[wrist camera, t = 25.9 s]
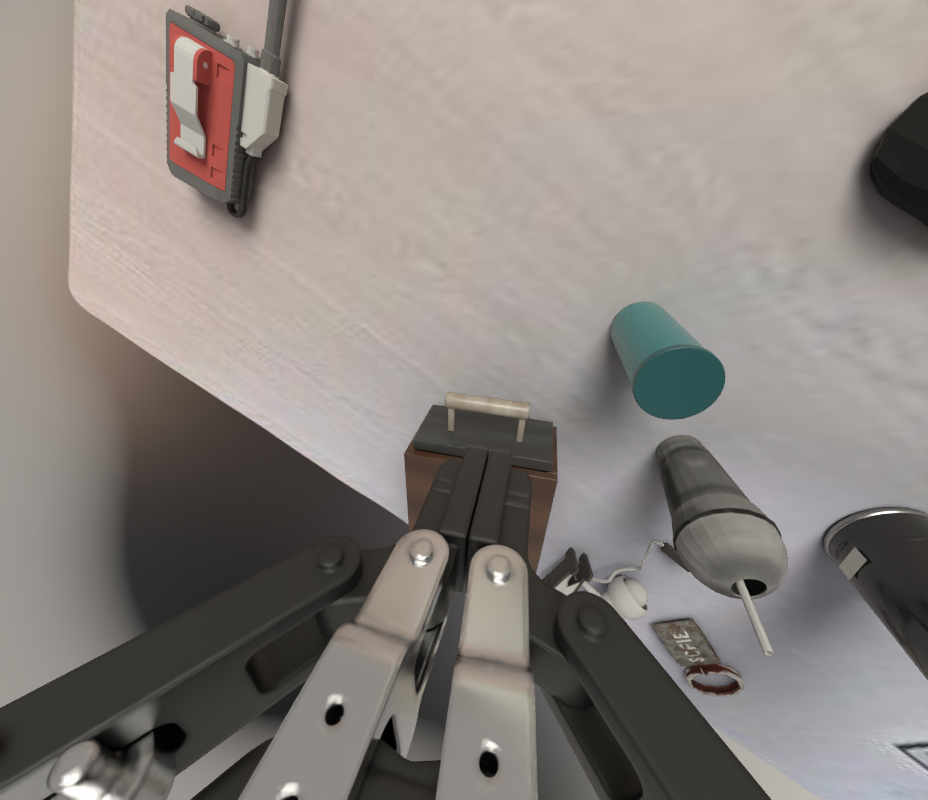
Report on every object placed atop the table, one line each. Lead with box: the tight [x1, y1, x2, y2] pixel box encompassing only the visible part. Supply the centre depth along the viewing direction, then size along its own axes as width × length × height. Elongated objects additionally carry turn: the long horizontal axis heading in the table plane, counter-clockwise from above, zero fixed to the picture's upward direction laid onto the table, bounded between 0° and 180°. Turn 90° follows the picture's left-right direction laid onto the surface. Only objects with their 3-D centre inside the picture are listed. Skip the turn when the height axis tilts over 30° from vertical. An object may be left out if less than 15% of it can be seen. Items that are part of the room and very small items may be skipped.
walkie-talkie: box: [166, 0, 288, 218], centre depth 27 cm, size 9×4×20 cm
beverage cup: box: [656, 435, 788, 656], centre depth 29 cm, size 7×7×20 cm
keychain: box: [652, 619, 744, 697], centre depth 52 cm, size 8×19×2 cm, turn 36°
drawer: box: [413, 392, 553, 472], centre depth 38 cm, size 19×14×7 cm
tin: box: [610, 302, 725, 419], centre depth 27 cm, size 5×5×12 cm
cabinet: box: [404, 410, 558, 573], centre depth 40 cm, size 16×15×9 cm
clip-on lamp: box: [542, 541, 690, 619], centre depth 45 cm, size 12×6×18 cm
